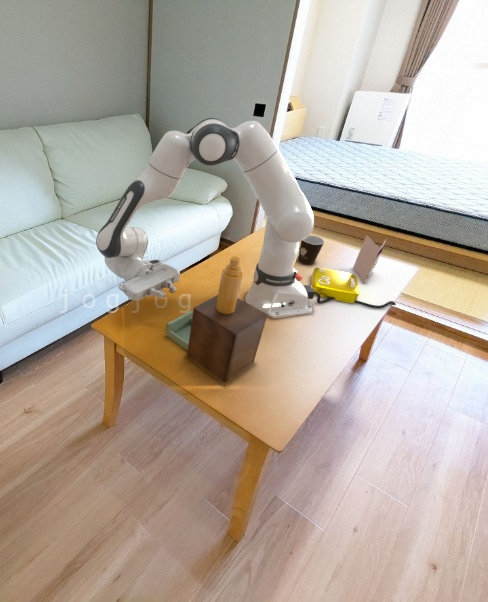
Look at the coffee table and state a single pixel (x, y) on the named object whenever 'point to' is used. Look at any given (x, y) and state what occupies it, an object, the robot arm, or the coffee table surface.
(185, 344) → the green pull-out drawer
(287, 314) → the robot arm
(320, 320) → the coffee table surface
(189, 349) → the cabinet
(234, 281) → the bottle
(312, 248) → the coffee mug
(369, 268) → the greeting card
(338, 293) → the element tile
